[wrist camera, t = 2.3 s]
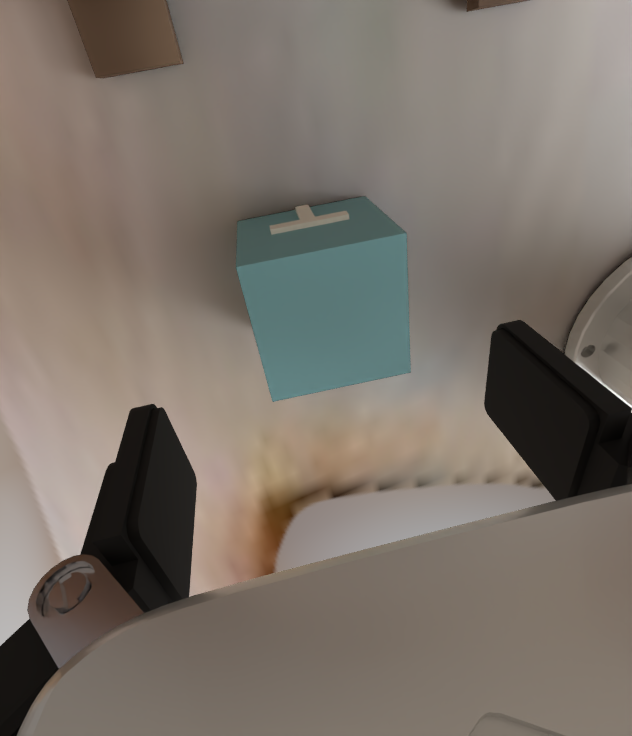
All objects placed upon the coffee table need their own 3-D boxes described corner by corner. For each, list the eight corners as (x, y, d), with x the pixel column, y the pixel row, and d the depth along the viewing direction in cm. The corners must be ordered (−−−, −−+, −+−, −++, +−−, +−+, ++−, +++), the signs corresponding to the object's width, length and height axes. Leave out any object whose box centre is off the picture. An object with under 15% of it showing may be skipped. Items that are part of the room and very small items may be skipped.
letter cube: (364, 191, 19) (406, 227, 14) (374, 310, 23) (410, 372, 18) (236, 216, 19) (234, 261, 14) (265, 333, 23) (272, 401, 18)
